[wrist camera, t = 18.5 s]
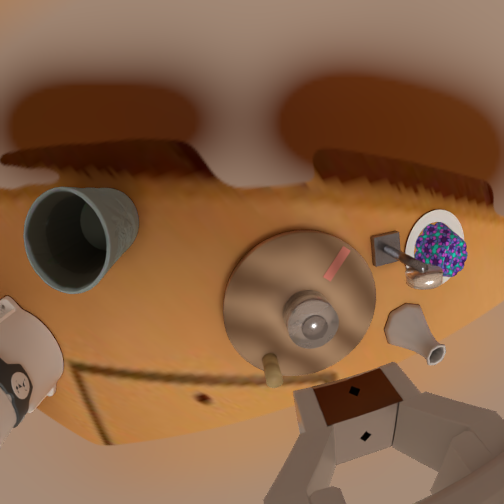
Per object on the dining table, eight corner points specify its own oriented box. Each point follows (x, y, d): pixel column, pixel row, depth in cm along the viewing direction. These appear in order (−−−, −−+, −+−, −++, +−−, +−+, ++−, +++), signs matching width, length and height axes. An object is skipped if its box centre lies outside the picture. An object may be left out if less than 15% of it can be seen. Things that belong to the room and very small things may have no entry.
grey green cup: (146, 259, 38) (116, 295, 26) (77, 261, 37) (31, 293, 26) (141, 178, 36) (105, 181, 24) (70, 185, 35) (17, 193, 23)
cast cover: (310, 339, 40) (320, 357, 35) (273, 320, 39) (279, 338, 34) (337, 303, 39) (350, 318, 34) (300, 281, 38) (309, 295, 33)
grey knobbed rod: (371, 264, 41) (418, 298, 29) (369, 236, 40) (418, 262, 28) (398, 258, 41) (449, 287, 29) (396, 230, 40) (450, 252, 28)
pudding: (419, 196, 39) (440, 201, 34) (469, 224, 41) (491, 230, 36) (390, 275, 42) (409, 288, 37) (444, 293, 44) (463, 305, 39)
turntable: (315, 384, 44) (327, 414, 37) (196, 331, 40) (191, 360, 33) (395, 277, 41) (421, 295, 34) (277, 198, 37) (289, 204, 30)
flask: (419, 337, 45) (452, 368, 35) (382, 348, 45) (411, 384, 35) (423, 297, 43) (461, 325, 33) (384, 307, 43) (418, 339, 33)
